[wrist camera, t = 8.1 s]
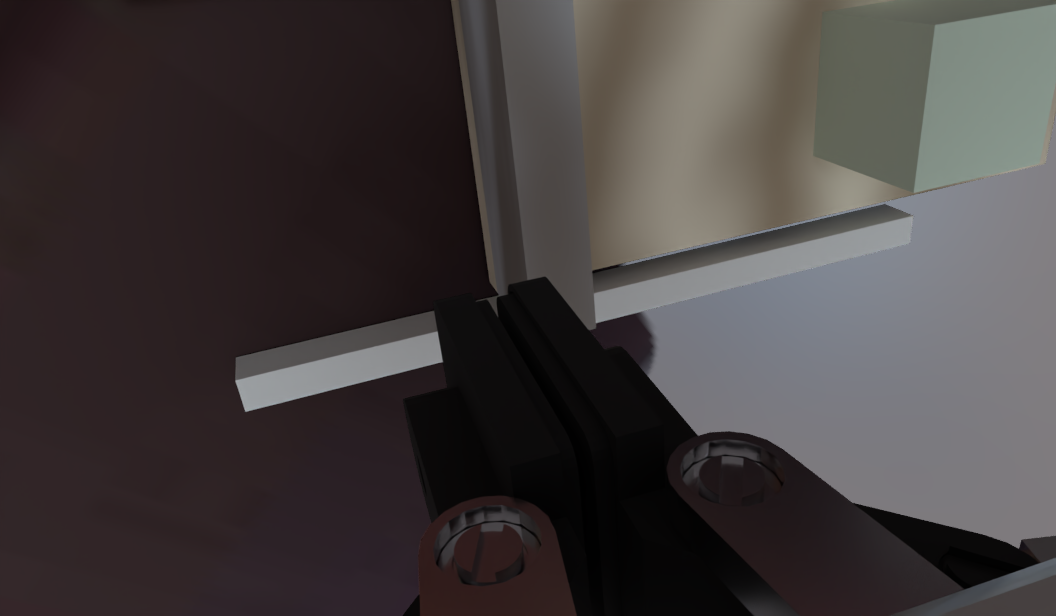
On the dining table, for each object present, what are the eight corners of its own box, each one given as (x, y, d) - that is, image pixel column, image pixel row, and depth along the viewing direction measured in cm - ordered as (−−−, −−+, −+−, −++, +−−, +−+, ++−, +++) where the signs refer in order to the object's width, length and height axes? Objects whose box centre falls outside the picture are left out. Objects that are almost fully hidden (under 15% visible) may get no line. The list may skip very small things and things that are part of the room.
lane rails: (923, -146, 26) (961, -151, 25) (881, 231, 33) (909, 243, 31) (105, -56, 20) (94, -56, 19) (245, 387, 27) (245, 411, 25)
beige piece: (1074, -105, 29) (1220, -114, 25) (1024, 158, 33) (1140, 189, 29) (448, -22, 23) (494, -14, 19) (489, 282, 28) (534, 343, 23)
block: (943, -8, 28) (1072, 1, 23) (924, 131, 30) (1039, 163, 25) (822, 11, 26) (935, 24, 22) (813, 155, 29) (913, 193, 24)
